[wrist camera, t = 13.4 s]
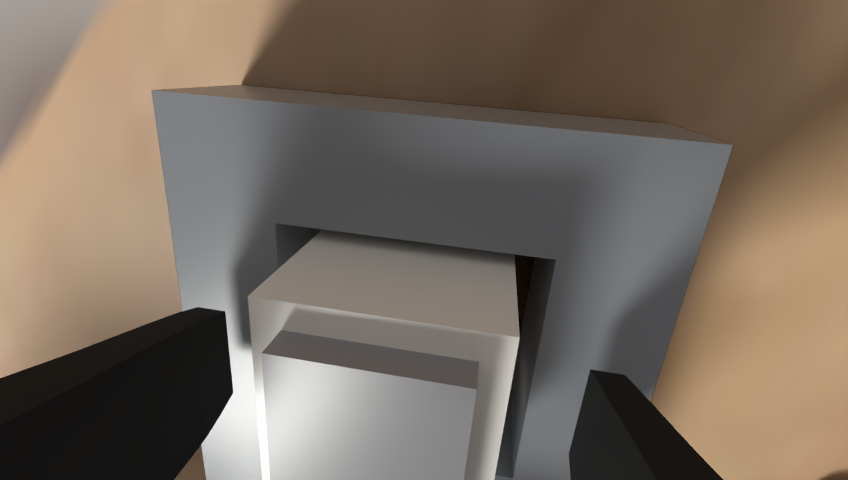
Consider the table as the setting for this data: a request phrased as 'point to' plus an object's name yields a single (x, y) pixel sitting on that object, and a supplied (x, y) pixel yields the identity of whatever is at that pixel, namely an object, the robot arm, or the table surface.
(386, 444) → the plug
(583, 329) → the socket plate
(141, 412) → the robot arm
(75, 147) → the table surface
